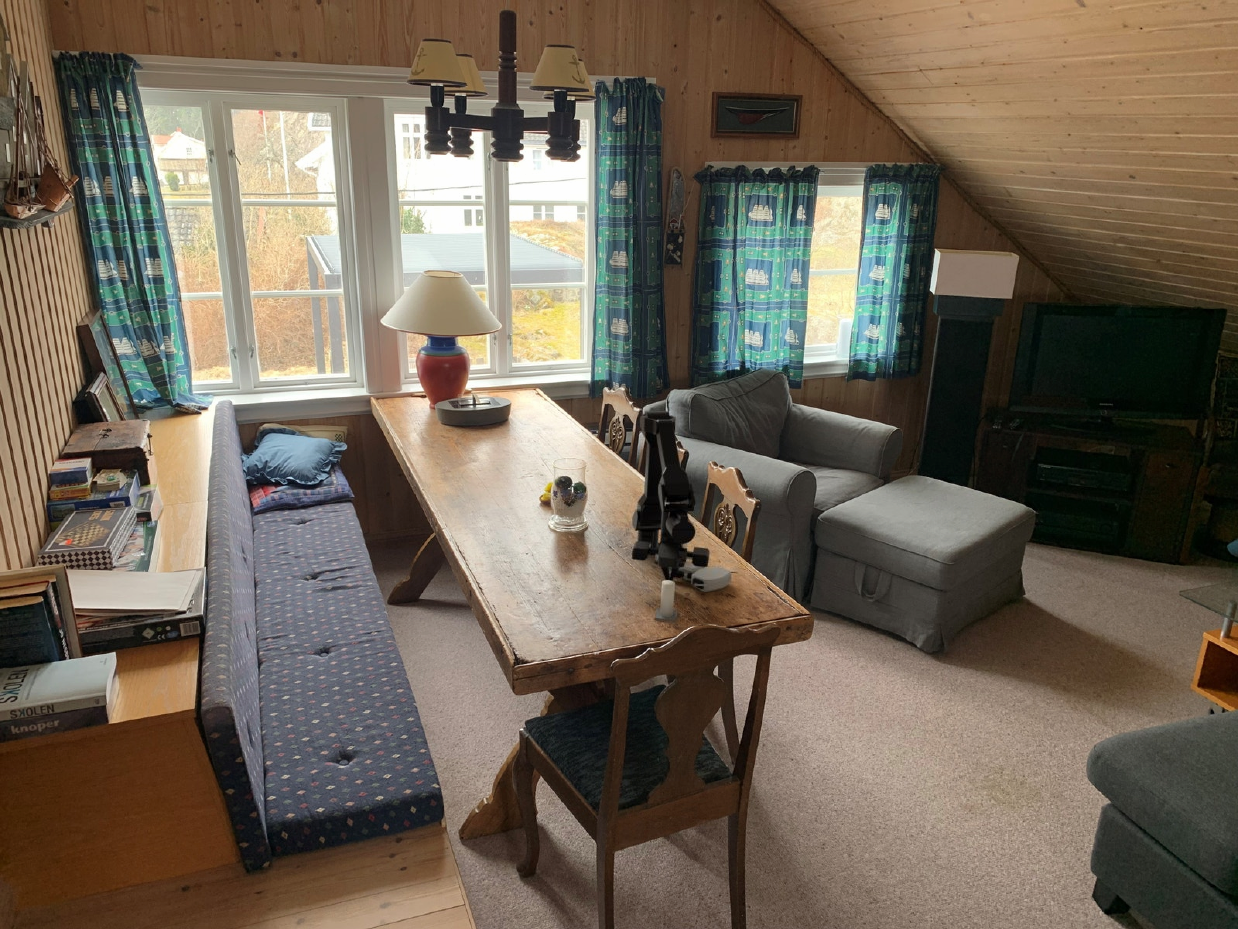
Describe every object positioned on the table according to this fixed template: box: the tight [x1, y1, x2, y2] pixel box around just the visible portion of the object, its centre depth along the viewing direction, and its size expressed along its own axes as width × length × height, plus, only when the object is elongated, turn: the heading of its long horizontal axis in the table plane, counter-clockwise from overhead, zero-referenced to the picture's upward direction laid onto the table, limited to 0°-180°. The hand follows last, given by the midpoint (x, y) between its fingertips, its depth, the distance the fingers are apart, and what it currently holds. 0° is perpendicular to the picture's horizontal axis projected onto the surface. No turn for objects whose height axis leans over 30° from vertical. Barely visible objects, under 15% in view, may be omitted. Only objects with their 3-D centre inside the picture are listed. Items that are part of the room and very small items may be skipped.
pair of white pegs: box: [653, 543, 689, 623], centre depth 221 cm, size 33×5×9 cm, turn 170°
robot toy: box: [669, 561, 739, 593], centre depth 226 cm, size 12×4×15 cm
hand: (668, 585), depth 222 cm, fingers closed
